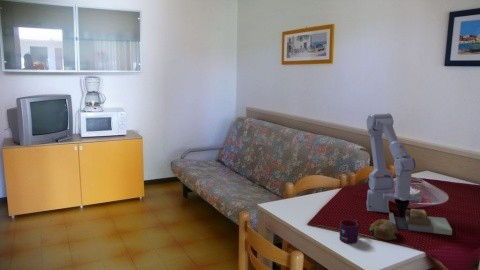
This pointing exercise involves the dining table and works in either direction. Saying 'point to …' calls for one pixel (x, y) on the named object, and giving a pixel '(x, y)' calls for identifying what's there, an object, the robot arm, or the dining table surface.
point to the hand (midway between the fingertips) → (400, 216)
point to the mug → (349, 231)
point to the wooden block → (418, 213)
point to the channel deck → (421, 223)
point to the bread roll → (384, 229)
